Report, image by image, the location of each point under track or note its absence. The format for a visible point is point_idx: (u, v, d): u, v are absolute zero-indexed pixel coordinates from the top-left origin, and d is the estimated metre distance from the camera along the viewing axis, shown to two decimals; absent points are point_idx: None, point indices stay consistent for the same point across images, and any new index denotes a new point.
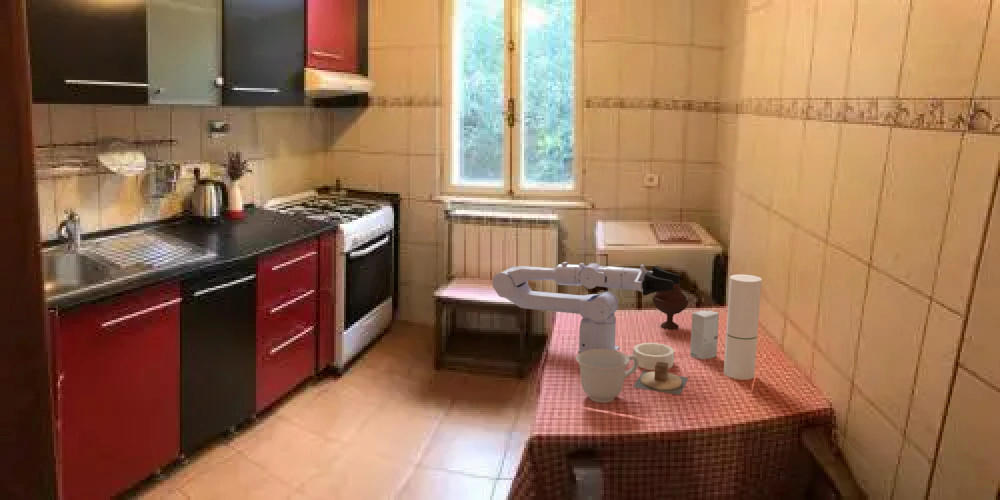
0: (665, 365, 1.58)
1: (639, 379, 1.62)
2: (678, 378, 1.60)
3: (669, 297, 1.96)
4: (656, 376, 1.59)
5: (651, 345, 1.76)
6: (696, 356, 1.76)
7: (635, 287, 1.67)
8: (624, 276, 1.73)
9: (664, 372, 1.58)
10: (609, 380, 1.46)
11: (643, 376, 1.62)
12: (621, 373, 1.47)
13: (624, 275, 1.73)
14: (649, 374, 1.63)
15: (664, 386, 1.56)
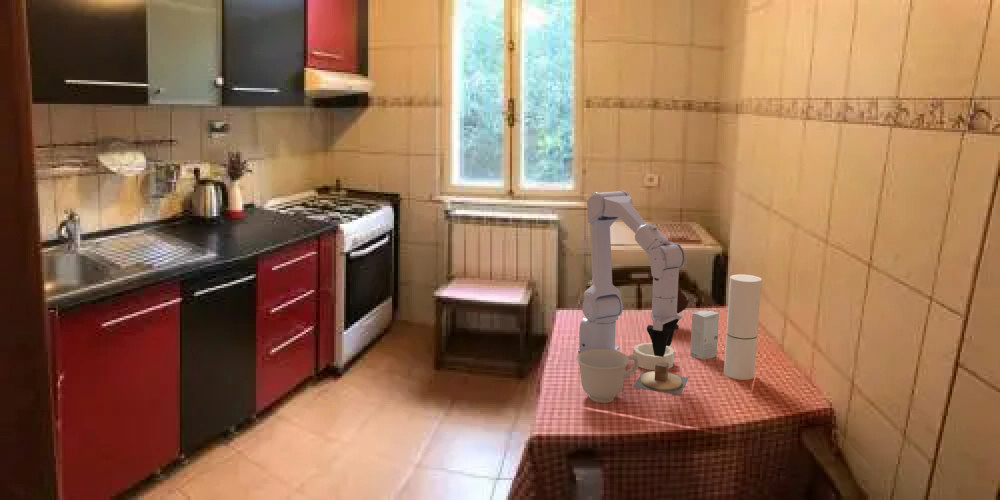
0: (665, 365, 1.58)
1: (639, 379, 1.62)
2: (678, 378, 1.61)
3: None
4: (656, 376, 1.59)
5: (651, 345, 1.76)
6: (696, 356, 1.76)
7: (655, 324, 1.51)
8: (667, 301, 1.53)
9: (664, 372, 1.58)
10: (609, 380, 1.46)
11: (643, 376, 1.62)
12: (621, 373, 1.47)
13: (668, 301, 1.53)
14: (649, 374, 1.63)
15: (664, 386, 1.56)
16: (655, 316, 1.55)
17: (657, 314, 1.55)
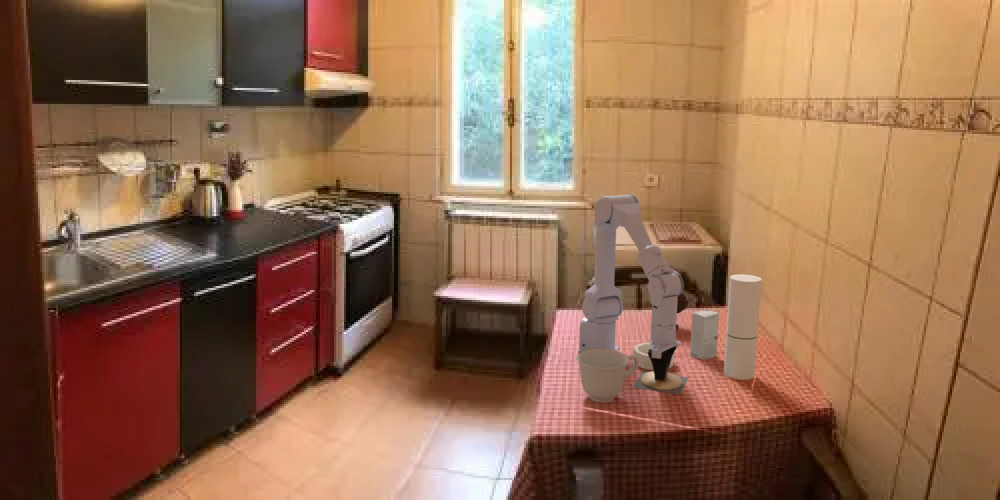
0: None
1: (639, 379, 1.62)
2: (678, 378, 1.60)
3: None
4: None
5: None
6: (696, 356, 1.76)
7: (654, 352, 1.52)
8: (665, 329, 1.55)
9: None
10: (609, 380, 1.46)
11: (643, 376, 1.62)
12: (621, 373, 1.47)
13: (667, 329, 1.55)
14: (649, 374, 1.63)
15: (664, 386, 1.56)
16: (654, 343, 1.56)
17: (656, 341, 1.56)
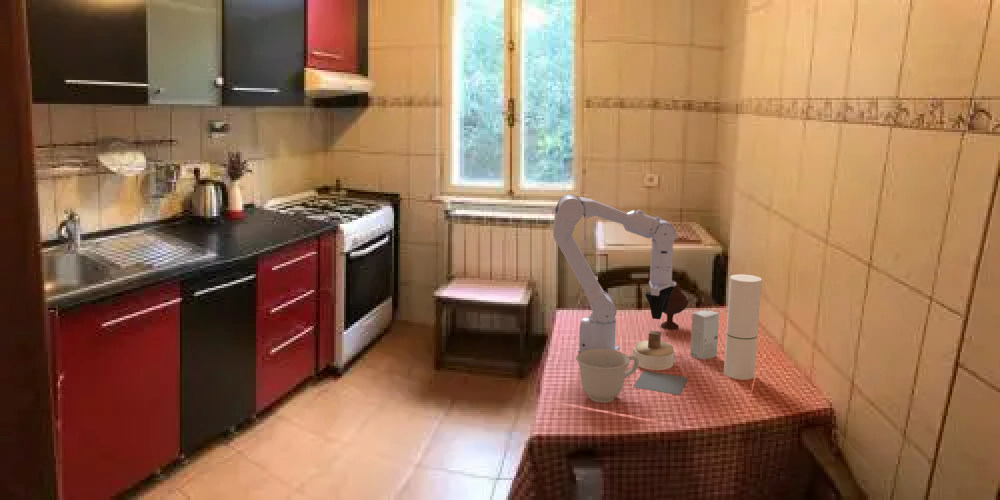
0: (658, 334, 1.70)
1: (639, 379, 1.62)
2: (670, 346, 1.72)
3: None
4: (649, 344, 1.71)
5: None
6: (696, 356, 1.76)
7: (653, 290, 1.72)
8: (663, 270, 1.75)
9: (657, 340, 1.70)
10: (609, 380, 1.46)
11: (637, 344, 1.74)
12: (621, 373, 1.47)
13: (664, 270, 1.75)
14: (643, 343, 1.75)
15: (656, 352, 1.68)
16: (653, 284, 1.76)
17: (654, 282, 1.76)
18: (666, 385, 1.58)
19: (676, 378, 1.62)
